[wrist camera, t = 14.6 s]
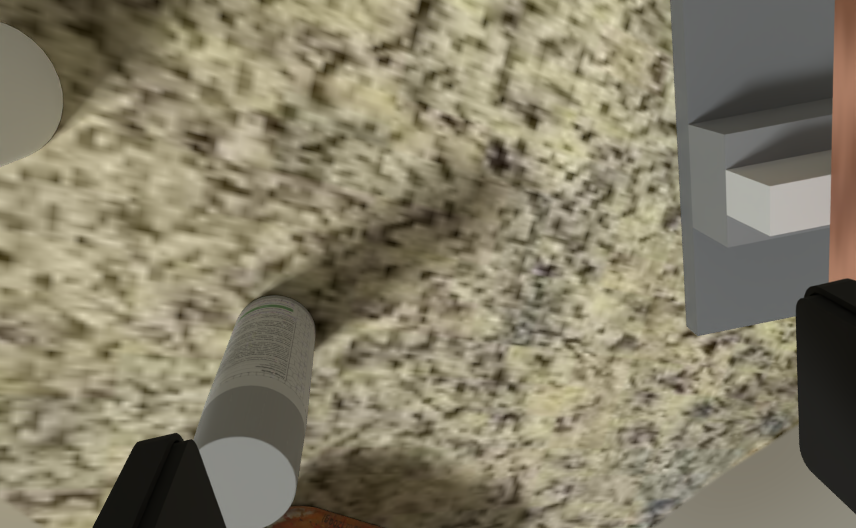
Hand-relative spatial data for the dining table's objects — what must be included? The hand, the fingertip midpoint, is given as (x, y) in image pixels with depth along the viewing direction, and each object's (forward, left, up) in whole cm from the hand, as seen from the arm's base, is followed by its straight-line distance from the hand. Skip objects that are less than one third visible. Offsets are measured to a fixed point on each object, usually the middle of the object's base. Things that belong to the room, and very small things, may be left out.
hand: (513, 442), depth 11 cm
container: (+10, -9, -30) cm, 33 cm away
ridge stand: (+5, +21, -30) cm, 37 cm away
